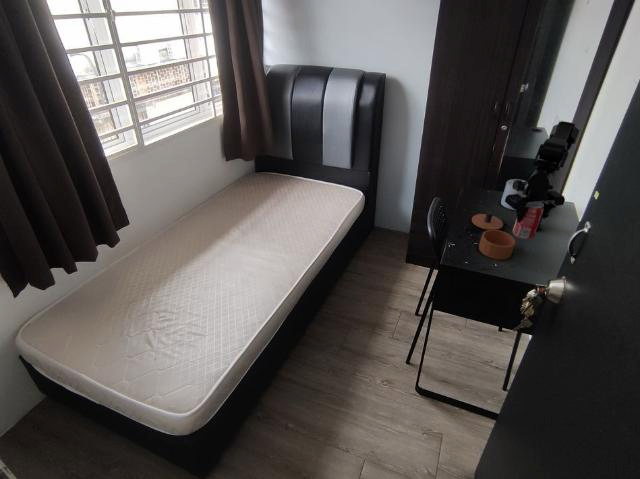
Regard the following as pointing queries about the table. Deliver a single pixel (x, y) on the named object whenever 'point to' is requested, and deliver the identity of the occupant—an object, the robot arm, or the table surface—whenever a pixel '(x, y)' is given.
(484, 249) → the pot
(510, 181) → the toilet tissue
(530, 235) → the soda can
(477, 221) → the pot lid
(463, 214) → the table surface
